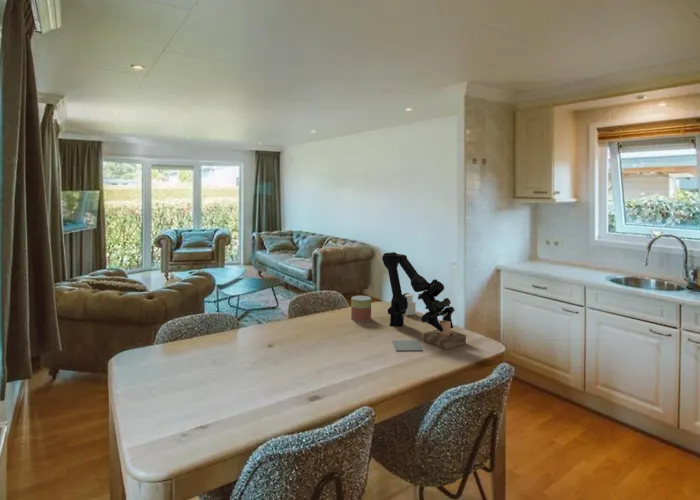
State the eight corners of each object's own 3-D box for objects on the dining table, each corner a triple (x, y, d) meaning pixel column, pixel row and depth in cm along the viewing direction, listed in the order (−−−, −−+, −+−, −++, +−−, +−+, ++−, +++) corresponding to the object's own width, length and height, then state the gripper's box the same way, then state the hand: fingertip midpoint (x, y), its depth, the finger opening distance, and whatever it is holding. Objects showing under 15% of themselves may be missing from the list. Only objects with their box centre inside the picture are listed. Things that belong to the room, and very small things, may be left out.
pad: (392, 341, 202) (392, 340, 202) (417, 341, 202) (417, 340, 202) (396, 351, 190) (396, 350, 190) (422, 351, 190) (422, 349, 190)
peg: (438, 343, 200) (439, 323, 199) (439, 339, 205) (440, 320, 204) (449, 344, 199) (450, 324, 197) (450, 341, 203) (451, 321, 202)
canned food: (374, 317, 239) (375, 297, 238) (364, 323, 230) (365, 301, 228) (357, 314, 245) (357, 294, 244) (347, 319, 236) (347, 298, 234)
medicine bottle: (398, 312, 250) (399, 293, 248) (408, 311, 253) (409, 291, 251) (405, 316, 243) (405, 295, 242) (415, 314, 246) (416, 294, 245)
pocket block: (423, 341, 203) (423, 333, 202) (442, 335, 212) (443, 327, 211) (446, 349, 192) (446, 341, 192) (465, 343, 201) (466, 335, 200)
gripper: (426, 295, 196) (444, 324, 189) (452, 290, 207) (470, 317, 200) (413, 308, 203) (430, 336, 196) (439, 302, 215) (456, 329, 207)
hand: (447, 329), depth 200 cm, fingers open, 7 cm apart
